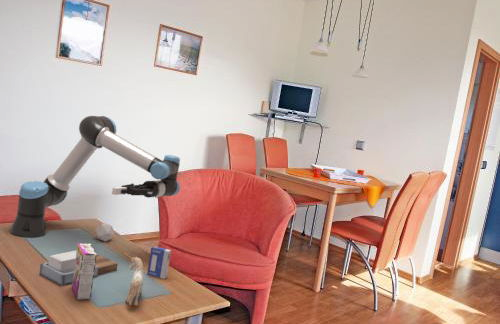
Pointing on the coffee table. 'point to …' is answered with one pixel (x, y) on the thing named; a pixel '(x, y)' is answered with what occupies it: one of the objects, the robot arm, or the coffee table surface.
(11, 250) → the coffee table surface
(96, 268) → the tray
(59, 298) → the coffee table surface
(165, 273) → the walkman
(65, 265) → the supplement box
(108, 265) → the walnut board
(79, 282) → the candy bar box
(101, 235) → the die
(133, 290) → the unicorn figurine
